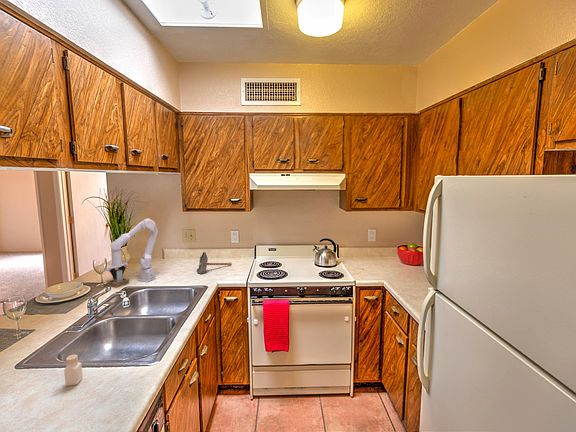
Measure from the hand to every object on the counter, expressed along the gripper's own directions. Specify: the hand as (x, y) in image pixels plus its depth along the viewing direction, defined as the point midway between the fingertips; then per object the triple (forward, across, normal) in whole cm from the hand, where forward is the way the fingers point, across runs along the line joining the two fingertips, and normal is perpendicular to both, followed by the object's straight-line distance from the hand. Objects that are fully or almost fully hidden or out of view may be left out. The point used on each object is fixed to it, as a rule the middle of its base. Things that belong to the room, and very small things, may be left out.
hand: (118, 278), depth 199 cm
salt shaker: (+5, +72, +78) cm, 106 cm away
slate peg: (+2, 0, 0) cm, 3 cm away
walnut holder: (+4, 0, 0) cm, 4 cm away
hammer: (+5, -55, +39) cm, 68 cm away
